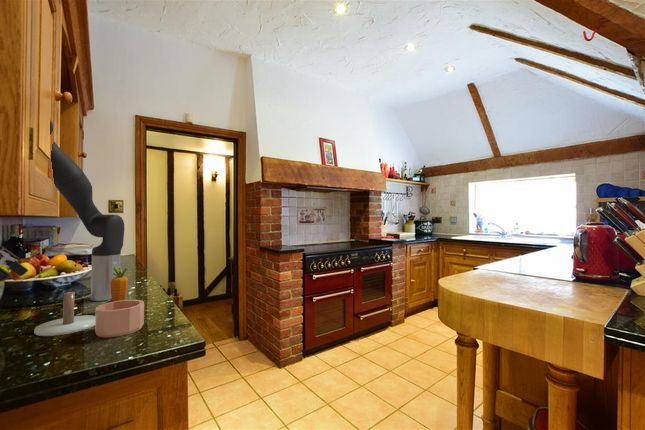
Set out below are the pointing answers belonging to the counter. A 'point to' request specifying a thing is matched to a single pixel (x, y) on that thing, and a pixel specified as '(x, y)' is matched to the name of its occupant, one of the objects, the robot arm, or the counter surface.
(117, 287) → the carrot
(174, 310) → the counter surface
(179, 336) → the counter surface
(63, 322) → the celadon lid
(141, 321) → the terracotta pot
